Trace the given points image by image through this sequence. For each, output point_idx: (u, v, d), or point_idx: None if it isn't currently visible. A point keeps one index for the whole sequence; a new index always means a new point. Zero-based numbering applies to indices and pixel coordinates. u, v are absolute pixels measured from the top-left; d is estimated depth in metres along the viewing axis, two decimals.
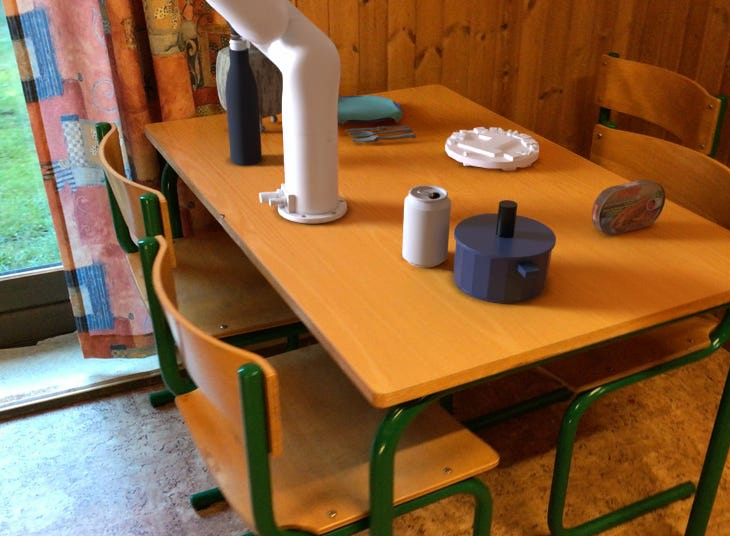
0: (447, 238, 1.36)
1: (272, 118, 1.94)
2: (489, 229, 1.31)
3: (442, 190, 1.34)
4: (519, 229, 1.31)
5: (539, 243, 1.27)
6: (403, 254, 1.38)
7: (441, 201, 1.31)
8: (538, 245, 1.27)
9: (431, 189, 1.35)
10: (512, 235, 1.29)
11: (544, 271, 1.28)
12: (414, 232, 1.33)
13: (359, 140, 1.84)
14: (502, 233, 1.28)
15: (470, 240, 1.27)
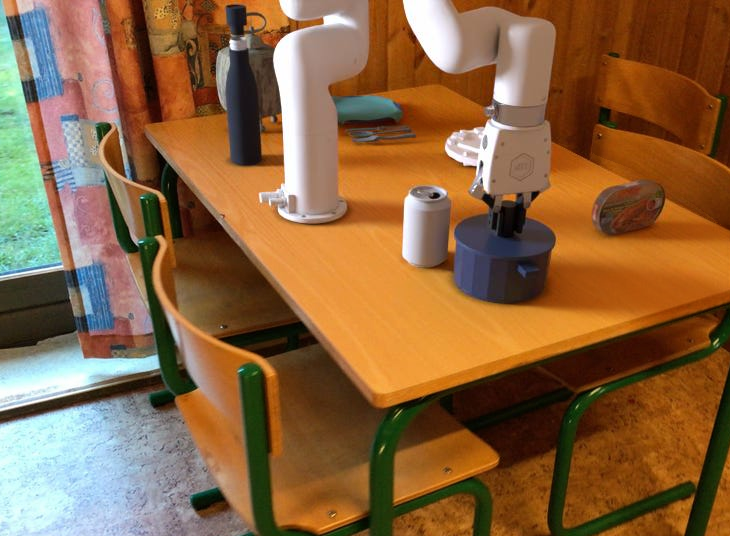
0: (447, 238, 1.36)
1: (272, 118, 1.94)
2: None
3: (442, 190, 1.34)
4: None
5: (539, 243, 1.27)
6: (403, 254, 1.38)
7: (441, 201, 1.31)
8: (538, 245, 1.27)
9: (431, 189, 1.35)
10: (512, 235, 1.29)
11: (544, 271, 1.28)
12: (414, 232, 1.33)
13: (359, 140, 1.84)
14: (502, 233, 1.28)
15: (470, 240, 1.27)
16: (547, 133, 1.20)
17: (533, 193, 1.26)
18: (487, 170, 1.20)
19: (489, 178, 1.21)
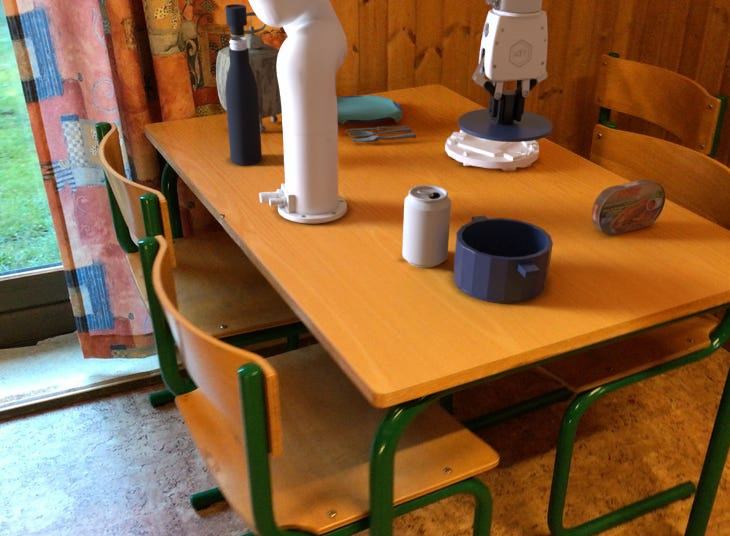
0: (447, 238, 1.36)
1: (272, 118, 1.94)
2: (490, 119, 1.41)
3: (442, 190, 1.34)
4: None
5: (537, 129, 1.38)
6: (403, 254, 1.38)
7: (441, 200, 1.31)
8: (535, 130, 1.37)
9: (431, 189, 1.35)
10: (512, 123, 1.39)
11: (544, 271, 1.28)
12: (414, 232, 1.33)
13: (359, 140, 1.84)
14: (503, 121, 1.39)
15: (473, 126, 1.38)
16: (544, 21, 1.30)
17: (531, 82, 1.37)
18: (488, 56, 1.31)
19: (490, 64, 1.31)
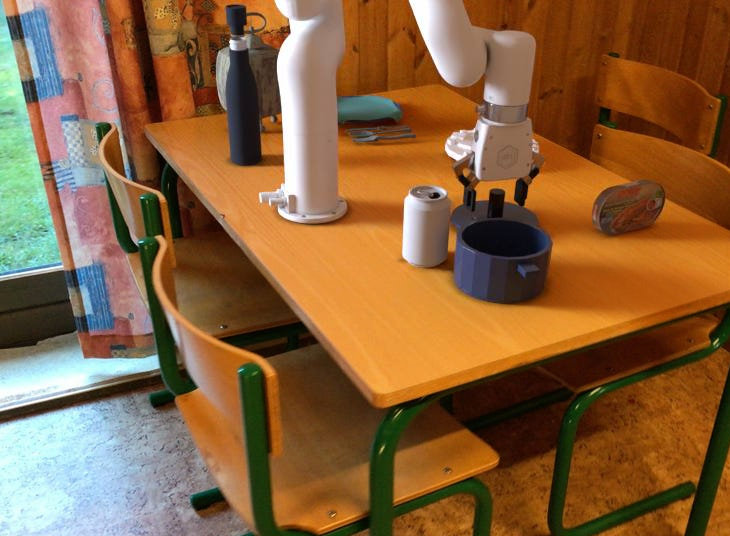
0: (447, 238, 1.36)
1: (272, 118, 1.94)
2: (481, 213, 1.53)
3: (442, 190, 1.34)
4: (507, 213, 1.53)
5: None
6: (403, 254, 1.38)
7: (441, 200, 1.31)
8: None
9: (431, 189, 1.35)
10: None
11: (544, 271, 1.28)
12: (414, 232, 1.33)
13: (359, 140, 1.84)
14: (492, 216, 1.50)
15: (465, 222, 1.49)
16: (529, 128, 1.41)
17: (534, 171, 1.48)
18: (478, 159, 1.42)
19: (480, 166, 1.42)
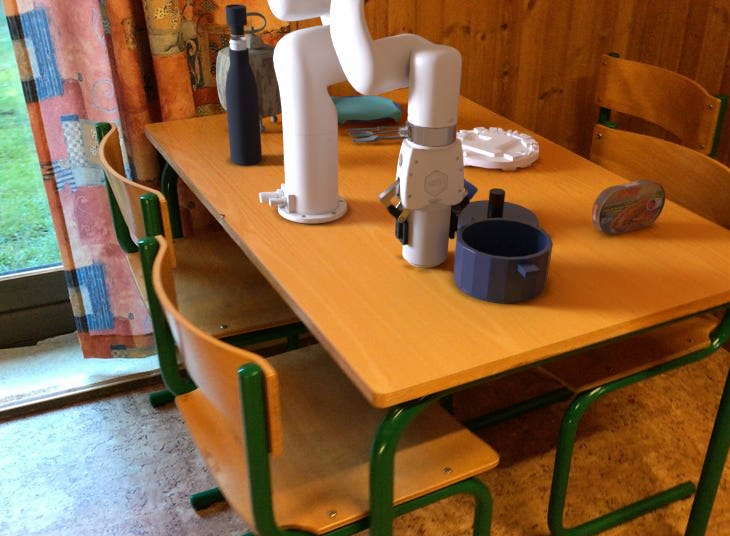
0: (447, 238, 1.36)
1: (272, 118, 1.94)
2: (481, 213, 1.53)
3: None
4: (507, 213, 1.53)
5: None
6: (403, 254, 1.38)
7: None
8: None
9: None
10: None
11: (544, 271, 1.28)
12: (414, 232, 1.33)
13: (359, 140, 1.84)
14: (492, 216, 1.50)
15: (465, 222, 1.49)
16: (459, 152, 1.28)
17: (464, 201, 1.35)
18: (403, 186, 1.29)
19: (405, 194, 1.29)
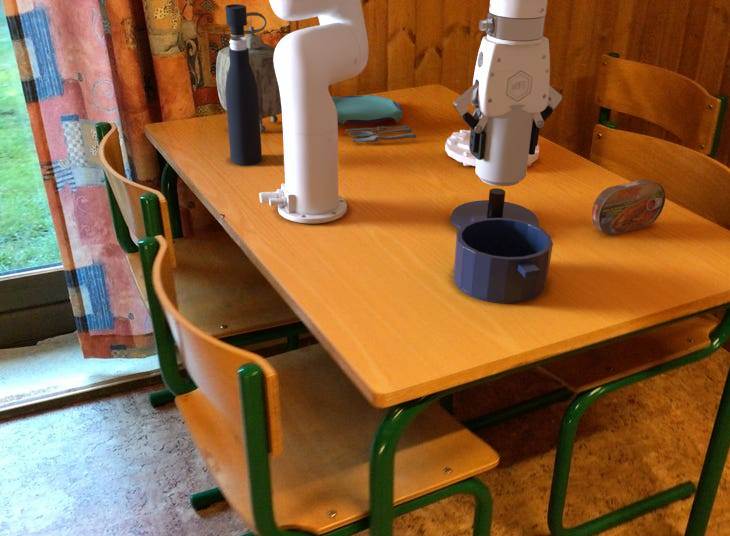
0: (527, 152, 1.22)
1: (272, 118, 1.94)
2: (481, 213, 1.53)
3: None
4: (507, 213, 1.53)
5: None
6: (477, 172, 1.24)
7: None
8: None
9: None
10: None
11: (544, 271, 1.28)
12: (492, 144, 1.19)
13: (359, 140, 1.84)
14: (492, 216, 1.50)
15: (465, 222, 1.49)
16: (546, 50, 1.14)
17: (546, 111, 1.21)
18: (483, 89, 1.15)
19: (485, 98, 1.15)
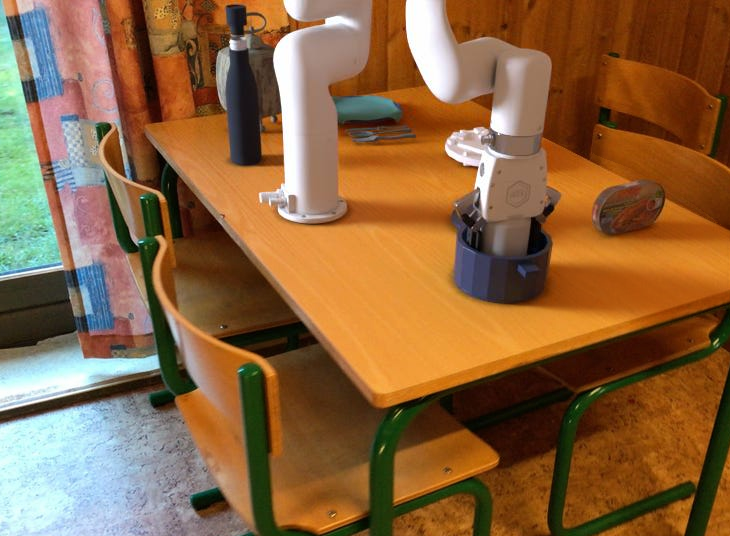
0: None
1: (272, 118, 1.94)
2: None
3: None
4: None
5: None
6: None
7: None
8: None
9: None
10: None
11: (544, 271, 1.28)
12: (492, 250, 1.28)
13: (359, 140, 1.84)
14: None
15: None
16: (543, 161, 1.22)
17: (548, 209, 1.29)
18: (484, 197, 1.23)
19: (486, 205, 1.23)
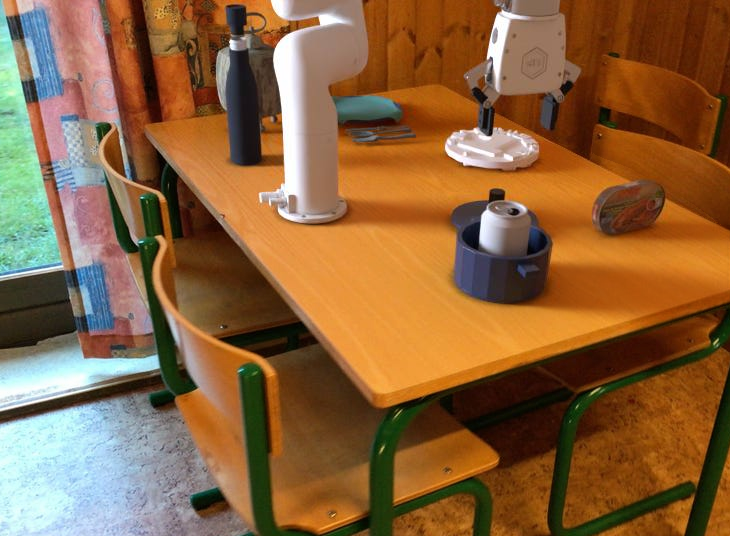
0: None
1: (272, 118, 1.94)
2: (481, 213, 1.53)
3: (521, 206, 1.28)
4: None
5: None
6: None
7: (522, 217, 1.26)
8: None
9: (509, 204, 1.30)
10: None
11: (544, 271, 1.28)
12: (492, 250, 1.28)
13: (359, 140, 1.84)
14: None
15: (465, 222, 1.49)
16: (562, 26, 1.11)
17: (567, 85, 1.18)
18: (497, 66, 1.12)
19: (499, 75, 1.12)
